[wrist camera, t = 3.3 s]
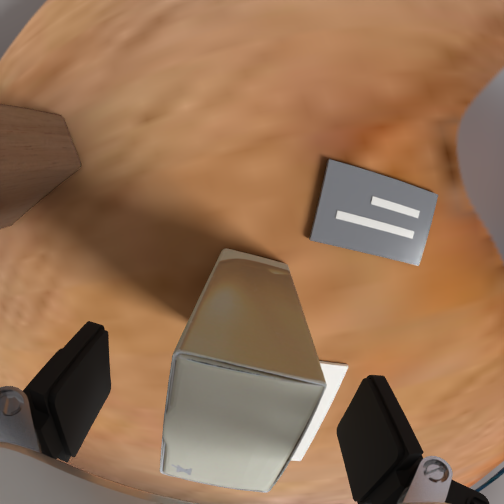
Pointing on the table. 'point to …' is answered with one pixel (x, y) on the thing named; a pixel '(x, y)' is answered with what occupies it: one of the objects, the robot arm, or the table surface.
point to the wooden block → (31, 158)
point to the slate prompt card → (372, 213)
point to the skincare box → (241, 379)
